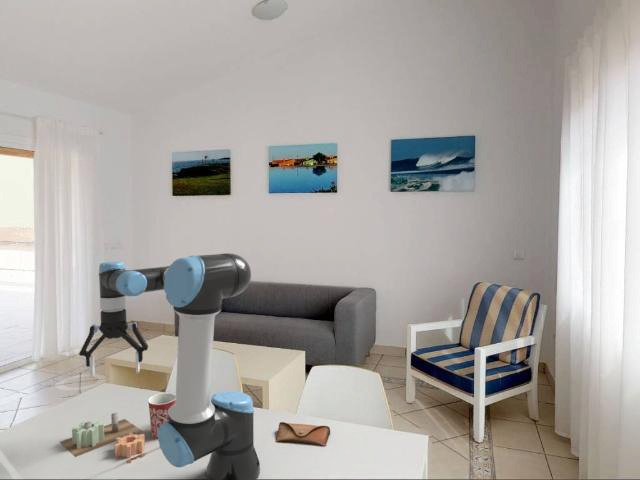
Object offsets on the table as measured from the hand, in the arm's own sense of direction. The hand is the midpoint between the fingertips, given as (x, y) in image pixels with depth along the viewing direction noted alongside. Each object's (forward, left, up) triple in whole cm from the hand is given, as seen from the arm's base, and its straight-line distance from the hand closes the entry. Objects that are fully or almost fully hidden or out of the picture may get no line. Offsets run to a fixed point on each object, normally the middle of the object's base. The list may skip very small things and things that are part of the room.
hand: (115, 373), depth 142 cm
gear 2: (-11, +1, -23) cm, 25 cm away
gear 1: (+4, +7, -21) cm, 23 cm away
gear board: (+4, +3, -23) cm, 23 cm away
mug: (-8, -13, -23) cm, 28 cm away
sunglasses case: (-45, -41, -23) cm, 65 cm away
